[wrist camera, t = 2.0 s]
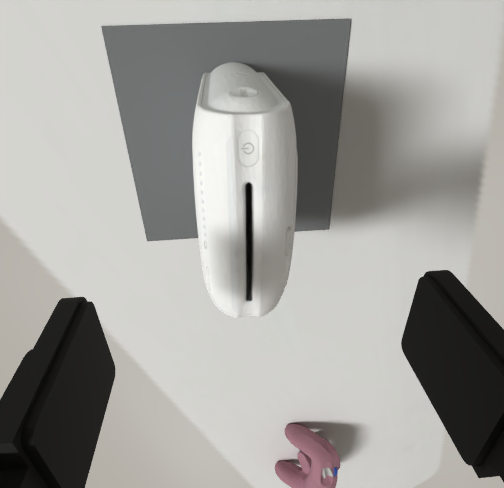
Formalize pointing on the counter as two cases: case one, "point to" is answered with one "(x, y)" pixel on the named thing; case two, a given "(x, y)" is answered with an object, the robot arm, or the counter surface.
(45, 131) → the counter surface
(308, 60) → the dark gray panel
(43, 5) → the counter surface
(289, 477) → the video game controller
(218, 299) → the photo printer
